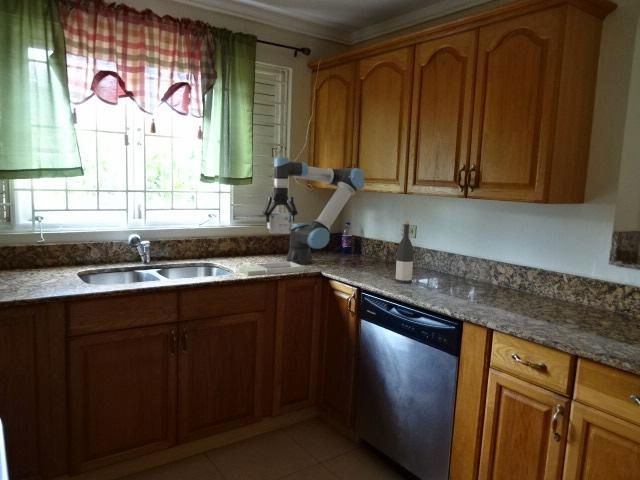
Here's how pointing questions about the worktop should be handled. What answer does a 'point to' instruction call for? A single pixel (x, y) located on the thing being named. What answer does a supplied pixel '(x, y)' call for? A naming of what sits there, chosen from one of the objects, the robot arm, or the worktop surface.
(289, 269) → the tray
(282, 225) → the light bulb box
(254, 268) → the board
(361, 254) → the worktop surface
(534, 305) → the worktop surface
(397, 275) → the wine bottle
